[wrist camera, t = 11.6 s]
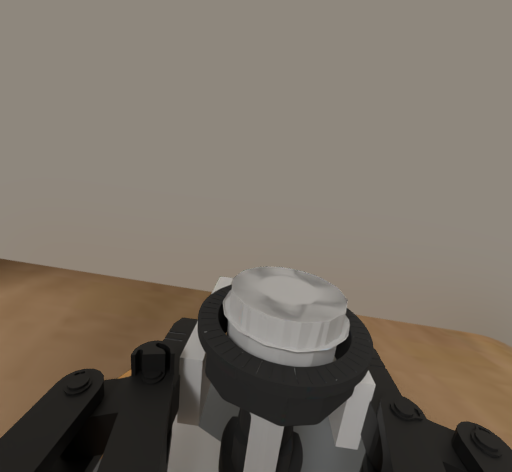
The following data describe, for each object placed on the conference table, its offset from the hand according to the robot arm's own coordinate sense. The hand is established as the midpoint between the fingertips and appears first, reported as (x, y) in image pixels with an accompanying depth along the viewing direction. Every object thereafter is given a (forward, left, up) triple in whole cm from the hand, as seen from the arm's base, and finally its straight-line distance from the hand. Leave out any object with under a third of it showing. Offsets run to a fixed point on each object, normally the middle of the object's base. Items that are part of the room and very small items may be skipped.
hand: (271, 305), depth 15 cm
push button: (+2, -5, -6) cm, 8 cm away
